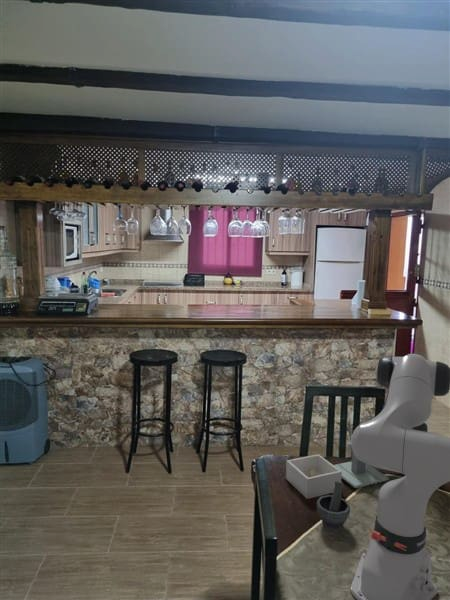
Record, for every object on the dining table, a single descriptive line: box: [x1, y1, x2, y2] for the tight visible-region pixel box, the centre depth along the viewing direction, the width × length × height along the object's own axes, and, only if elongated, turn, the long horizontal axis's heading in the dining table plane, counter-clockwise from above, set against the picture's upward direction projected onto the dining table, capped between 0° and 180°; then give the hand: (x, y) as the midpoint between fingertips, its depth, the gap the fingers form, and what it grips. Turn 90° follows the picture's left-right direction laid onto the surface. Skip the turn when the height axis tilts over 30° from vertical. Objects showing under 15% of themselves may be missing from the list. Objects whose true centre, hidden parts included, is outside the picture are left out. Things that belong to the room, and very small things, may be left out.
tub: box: [285, 453, 343, 500], centre depth 151 cm, size 14×14×7 cm
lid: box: [333, 449, 390, 489], centre depth 156 cm, size 15×15×12 cm
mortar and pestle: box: [316, 481, 351, 533], centre depth 128 cm, size 11×9×12 cm
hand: (357, 451), depth 155 cm, fingers open, 8 cm apart
